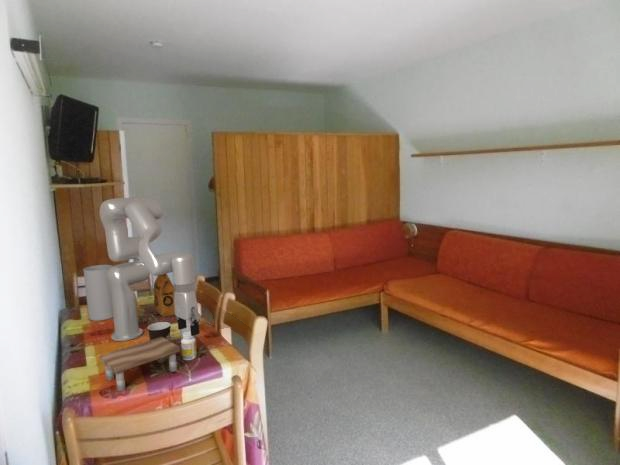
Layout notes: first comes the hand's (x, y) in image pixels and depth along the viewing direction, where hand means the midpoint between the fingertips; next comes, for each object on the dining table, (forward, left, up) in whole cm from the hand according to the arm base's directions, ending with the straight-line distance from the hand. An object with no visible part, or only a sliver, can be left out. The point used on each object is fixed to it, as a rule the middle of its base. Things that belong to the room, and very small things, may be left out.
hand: (188, 331), depth 154 cm
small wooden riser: (-1, -18, -10) cm, 21 cm away
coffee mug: (-16, -3, -11) cm, 19 cm away
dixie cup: (-21, +10, -11) cm, 25 cm away
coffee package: (-56, +17, -11) cm, 59 cm away
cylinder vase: (-75, -7, -11) cm, 76 cm away
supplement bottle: (-1, 0, -11) cm, 11 cm away
